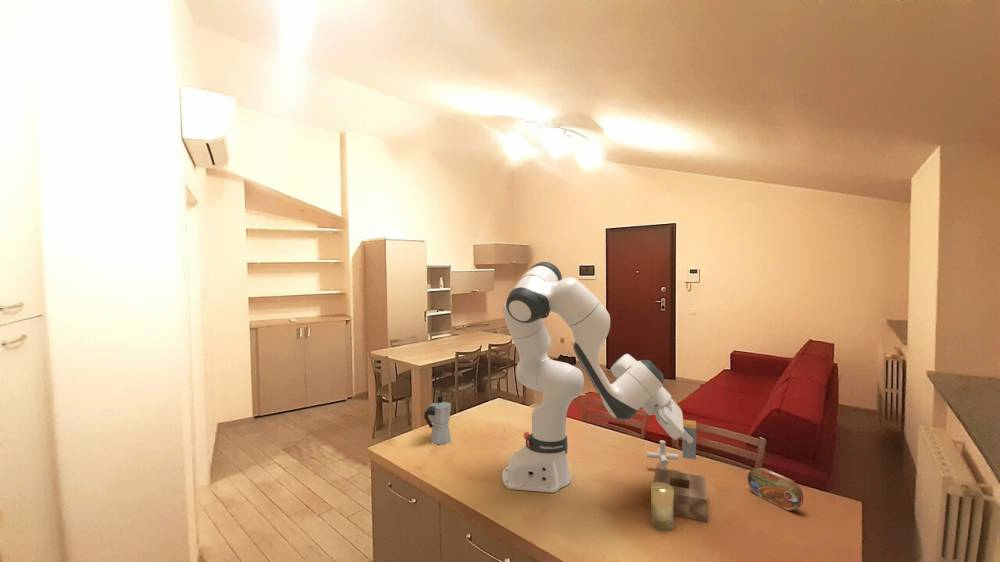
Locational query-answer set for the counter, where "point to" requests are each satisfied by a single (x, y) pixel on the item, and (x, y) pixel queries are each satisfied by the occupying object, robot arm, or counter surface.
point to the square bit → (690, 449)
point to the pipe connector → (662, 455)
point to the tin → (775, 488)
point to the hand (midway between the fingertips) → (691, 438)
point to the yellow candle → (662, 506)
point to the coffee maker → (439, 421)
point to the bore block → (686, 493)
